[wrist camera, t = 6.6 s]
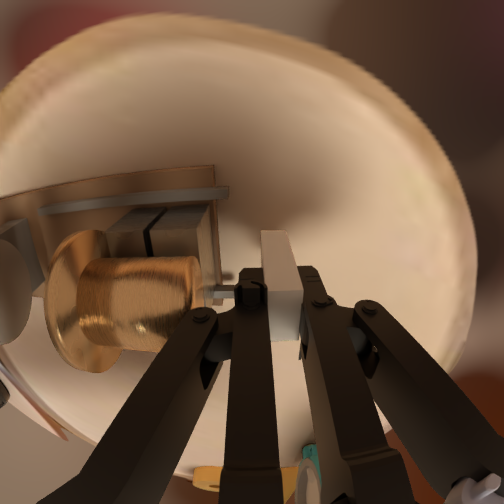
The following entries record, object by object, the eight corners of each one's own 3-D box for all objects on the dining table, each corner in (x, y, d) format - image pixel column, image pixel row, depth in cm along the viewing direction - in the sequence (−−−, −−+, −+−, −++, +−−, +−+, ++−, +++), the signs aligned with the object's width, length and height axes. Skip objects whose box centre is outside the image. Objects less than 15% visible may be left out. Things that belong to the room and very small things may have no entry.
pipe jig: (-1, 286, 22) (-56, 344, 11) (-26, 207, 18) (-96, 252, 7) (236, 296, 21) (226, 430, 11) (229, 164, 17) (191, 226, 7)
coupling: (142, 291, 20) (86, 398, 10) (123, 197, 16) (21, 274, 7) (217, 292, 19) (196, 416, 10) (208, 191, 16) (156, 276, 7)
